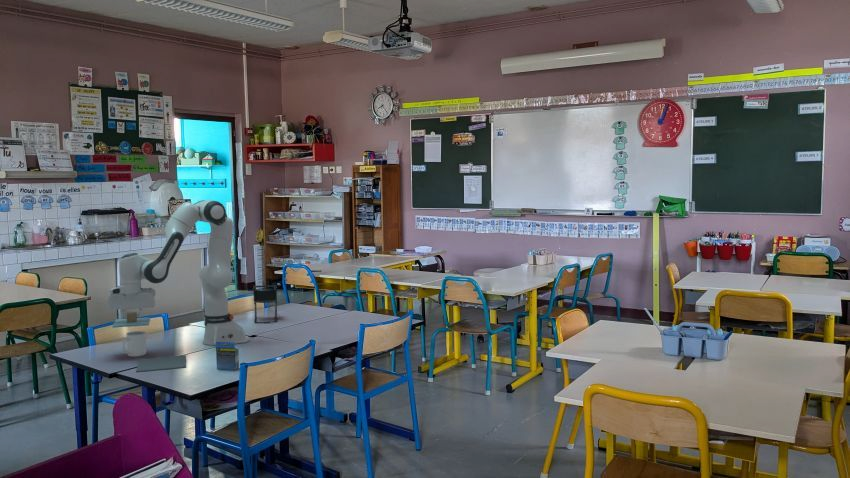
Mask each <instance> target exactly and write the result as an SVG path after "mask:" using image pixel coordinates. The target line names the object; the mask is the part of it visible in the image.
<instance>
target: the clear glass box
mask: <svg viewBox="0 0 850 478" xmlns="http://www.w3.org/2000/svg"><path fill="white" fill-rule="evenodd" d="M256 288H273V289H270V290H269V289H267V290H258V289H256ZM252 289H253V291H252V292H253V305H254V322H253V323H254V324H256V323H264V324H271V323H270V322H276V321H277V322H278V306H277V303H278V297H277V296H278V293H277V289H278V288H277V284H270V285H269V284H268V285H267V284H266V285H253V288H252ZM257 303H258V304H266V303H267V304H270V303H274V319H275V320H270V321H269V320H268V321H257ZM277 322H276V323H277Z"/></svg>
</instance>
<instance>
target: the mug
mask: <svg viewBox="0 0 850 478" xmlns="http://www.w3.org/2000/svg"><path fill="white" fill-rule="evenodd" d="M146 333H147V332H146V331H144V330H139V331H138V330H137V331H135V330H134V331H130V332H126V337H125V339H124V340H123V341H122V343H121V350H122V352H123V353H124V354H126V355H127V356H128V357H131V358H134V357H135V358H136V357H143V356H145V355H146V354H147V335H146Z"/></svg>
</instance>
